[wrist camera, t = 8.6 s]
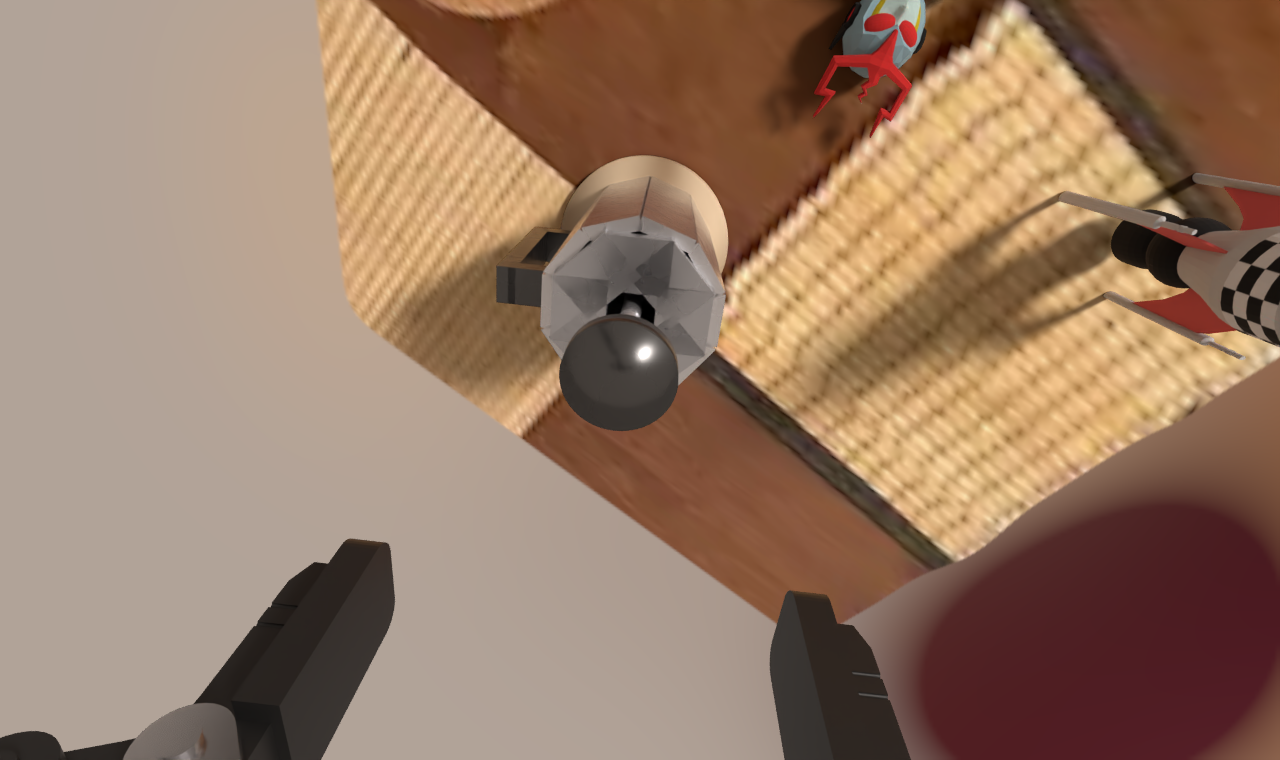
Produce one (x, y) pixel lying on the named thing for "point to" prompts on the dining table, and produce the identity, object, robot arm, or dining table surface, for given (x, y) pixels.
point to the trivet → (650, 167)
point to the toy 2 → (1205, 263)
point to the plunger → (620, 368)
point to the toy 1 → (877, 46)
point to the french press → (624, 269)
